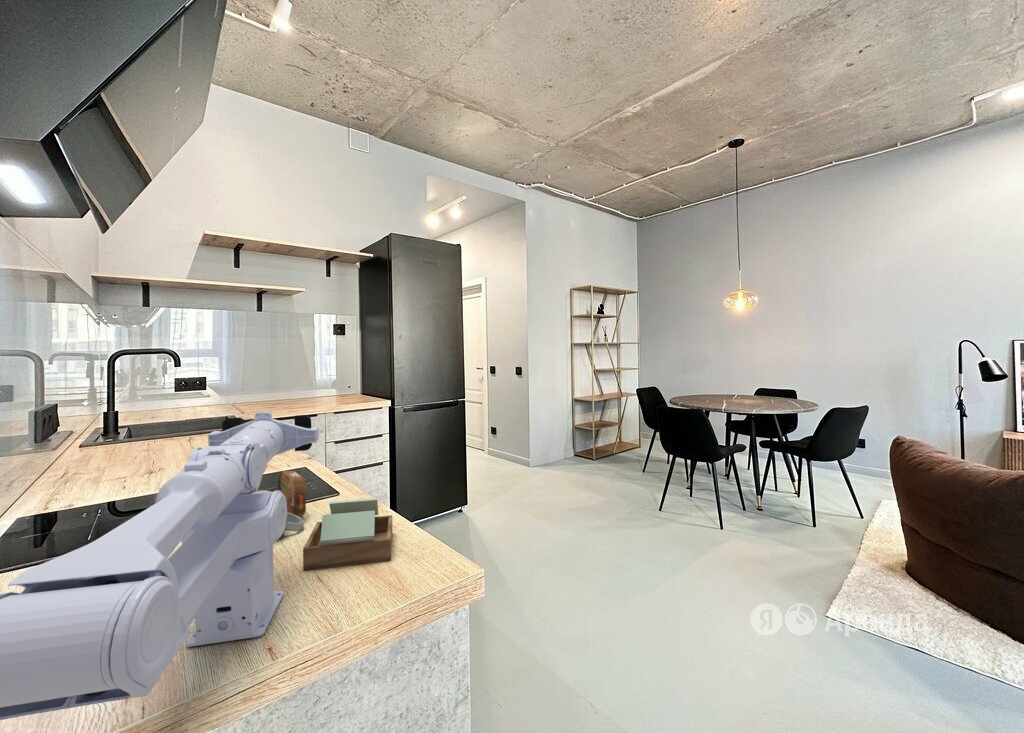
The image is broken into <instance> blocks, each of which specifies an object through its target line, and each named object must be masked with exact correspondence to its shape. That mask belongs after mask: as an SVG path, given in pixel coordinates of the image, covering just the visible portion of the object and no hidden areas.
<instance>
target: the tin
mask: <svg viewBox="0 0 1024 733" xmlns="http://www.w3.org/2000/svg"><path fill="white" fill-rule="evenodd" d="M277 491H281V492H282V494H283V495H284V496H285V498H286V502H287V512H288V513H291V514H294V515H296V516H299V517H300V518H303V517H304V516H305V514H306V510H307V508H306V504H307V494H308V493H307V492H308V491H307V483H306V480H305V478H304V477H303V476H301V475H300V473H298V472H296V471H295V470H285V471H284V470H282V471H281V472H280V473H279V475H278V482H277Z"/></svg>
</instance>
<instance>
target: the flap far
mask: <svg viewBox="0 0 1024 733" xmlns="http://www.w3.org/2000/svg"><path fill="white" fill-rule="evenodd" d="M374 510H375V516H378V515H379V503H378V497H373V498H359V499H348V500H336V501H334V500H333V501H329V511H330V514H339V513H351V512H362V511H374Z"/></svg>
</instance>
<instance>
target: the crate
mask: <svg viewBox="0 0 1024 733" xmlns="http://www.w3.org/2000/svg"><path fill="white" fill-rule="evenodd" d="M321 528H322V521H317V522H316V523H315V525H314V528H313V529H312V532H311V533H310V535H309V536H308V539H307V540H306V543H305V545H304V546H303V548H302V559H303V563H302V564H303V566H302V569H303V572H305V571H314V570H320V569H322V570H323V569H328V568H329V569H330V568H331V569H332V568H339V567H347V566H355V565H356V566H357V565H364V564H372V563H373V564H374V563H381V562H391V558H392V548H391V547H392V545H393V515H381V516H375V527H374V540H365V541H355V542H346V543H336V544H326V545H320V542H321V541H320V539H321Z"/></svg>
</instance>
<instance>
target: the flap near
mask: <svg viewBox="0 0 1024 733" xmlns="http://www.w3.org/2000/svg"><path fill="white" fill-rule="evenodd" d="M375 517H376V515H375V510H374V511H362V512H351V513H339V514H331V513H329V514H322V517H321V518H322V519H321V522H322V528H321V539H320V541H321V542H320V545H326V544H336V543H346V542H355V541H365V540H374V527H375Z"/></svg>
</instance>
